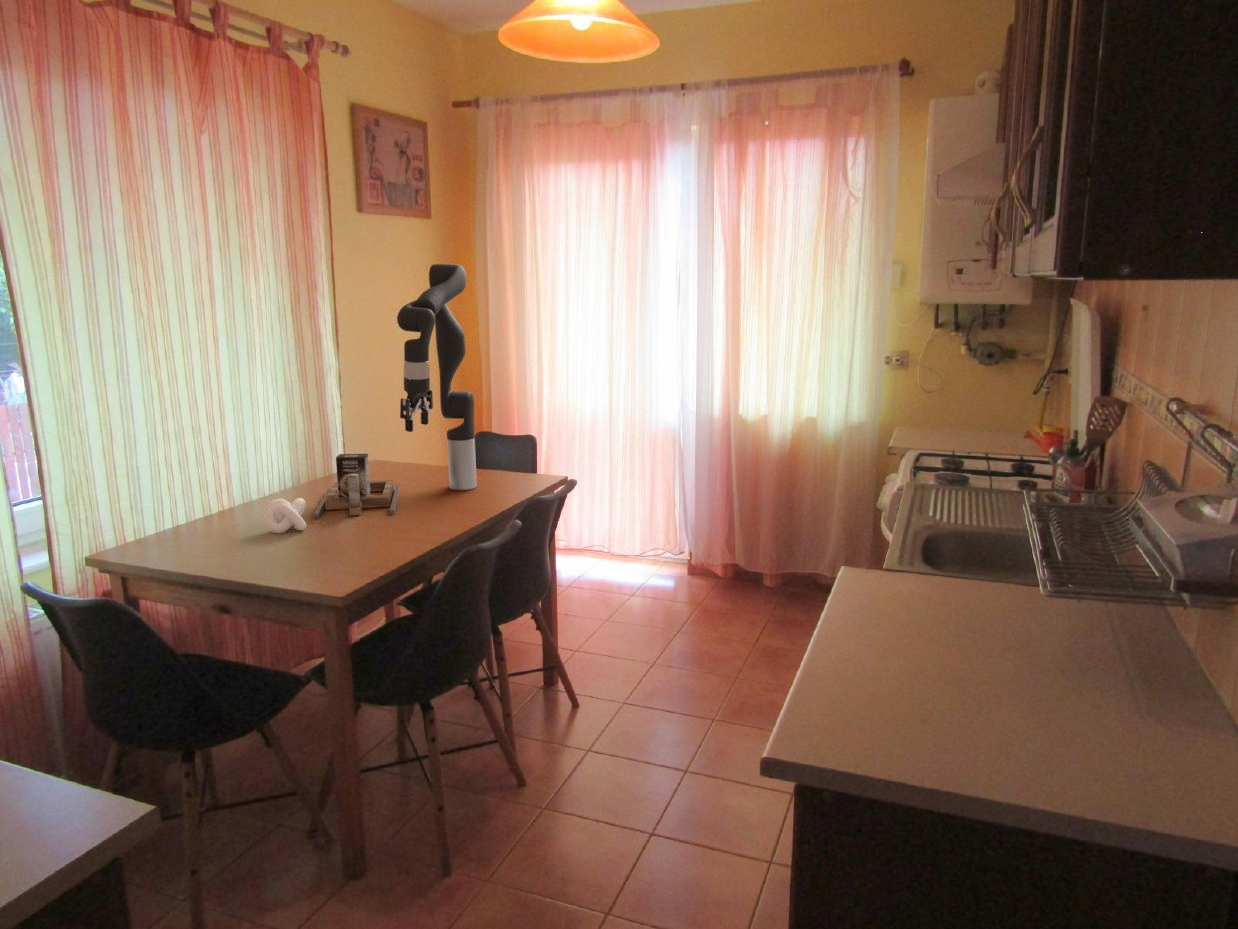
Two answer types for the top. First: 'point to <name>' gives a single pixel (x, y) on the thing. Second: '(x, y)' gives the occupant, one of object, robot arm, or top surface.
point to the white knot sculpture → (284, 515)
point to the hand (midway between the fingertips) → (417, 427)
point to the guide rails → (322, 504)
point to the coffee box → (352, 466)
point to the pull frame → (357, 501)
